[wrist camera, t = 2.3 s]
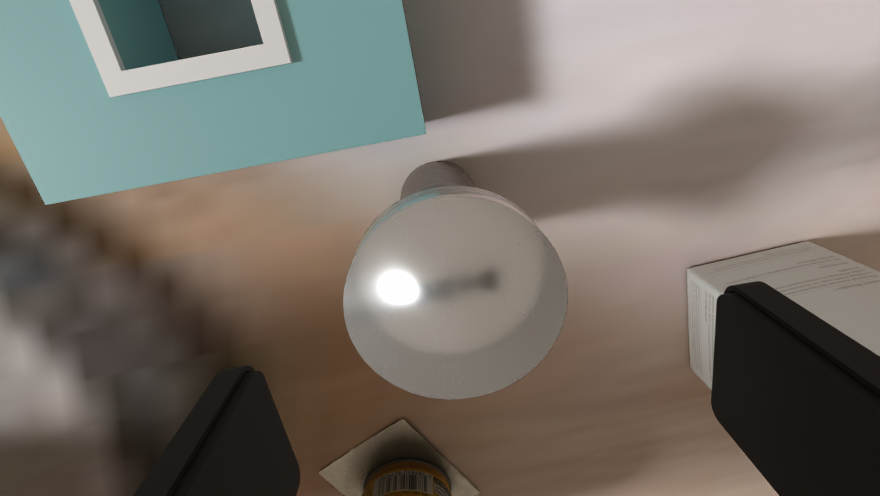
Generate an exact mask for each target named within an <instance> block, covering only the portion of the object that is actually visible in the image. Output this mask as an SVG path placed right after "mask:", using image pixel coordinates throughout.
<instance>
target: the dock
mask: <svg viewBox="0 0 880 496" xmlns="http://www.w3.org/2000/svg"><path fill="white" fill-rule="evenodd" d="M251 3H252V6H253V10H254V13H255V17H256V20H257V24H258V27H259V31H260V34H261V37H262V41H263V44H260V45H255V46H249V47H244V48H239V49H234V50H229V51H223V52H218V53H213V54H208V55H203V56H197V57H192V58H187V59H182V60H179V58H178V56H177V53H176V50H175V47H174V44H173V42H172V39H171V36H170V33H169V30H168V28H167V25H166V22H165V19H164V16H163V13H162V11H161V8H160V5H159V2H158V0H0V117H1V118H2V120H3V122H4V124H5V126H6V128H7V130H8V132H9V134H10V136H11V138H12V140H13V142H14V144H15V146H16V148H17V150H18V152H19V154H20V156H21V158H22V160H23V162H24V164H25V166H26V168H27V170H28V172H29V174H30V175H31V177H32V179H33V181H34V183H35V185H36V187H37V189H38V191H39V193H40V195H41V197H42V199H43V201H44V203H45V205H48V204H53V203H58V202H64V201H69V200H74V199H80V198H85V197H90V196H96V195H101V194H106V193H112V192H117V191H123V190H128V189H133V188H139V187H144V186H149V185H155V184H160V183H165V182H171V181H176V180H181V179H187V178H192V177H198V176H203V175H208V174H214V173H219V172H224V171H230V170H235V169H240V168H246V167H251V166H257V165H262V164H267V163H273V162H278V161H283V160H289V159H294V158H299V157H305V156H310V155H315V154H321V153H326V152H332V151H337V150H342V149H348V148H353V147H358V146H364V145H369V144H374V143H380V142H385V141H390V140H396V139H401V138H407V137H412V136H417V135H423V134H426V129H425V121H424V116H423V110H422V105H421V100H420V94H419V89H418V83H417V78H416V72H415V67H414V61H413V56H412V50H411V45H410V39H409V34H408V29H407V23H406V18H405V12H404V7H403V1H402V0H251Z"/></svg>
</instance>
